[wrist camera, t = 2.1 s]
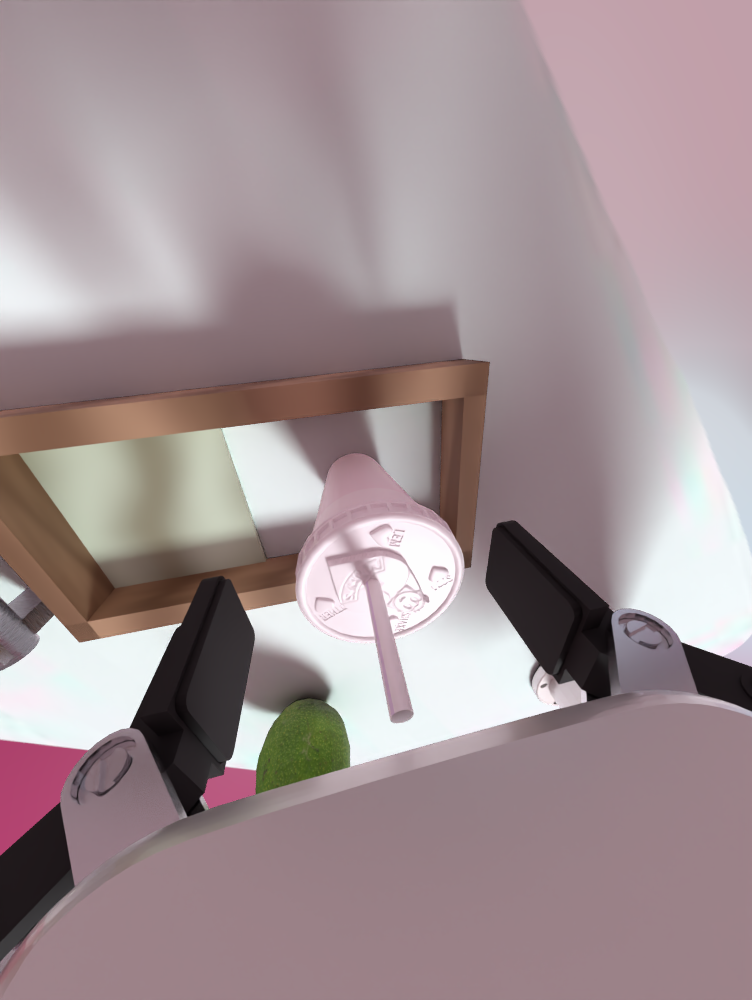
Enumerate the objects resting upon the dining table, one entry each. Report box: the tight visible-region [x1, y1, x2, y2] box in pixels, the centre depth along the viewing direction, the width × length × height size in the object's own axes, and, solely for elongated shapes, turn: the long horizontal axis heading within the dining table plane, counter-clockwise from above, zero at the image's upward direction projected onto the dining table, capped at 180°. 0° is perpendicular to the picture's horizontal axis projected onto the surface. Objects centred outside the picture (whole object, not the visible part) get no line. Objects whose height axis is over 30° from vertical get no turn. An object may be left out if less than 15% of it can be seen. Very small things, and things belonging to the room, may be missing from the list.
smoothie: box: [295, 453, 464, 723], centre depth 13 cm, size 6×6×14 cm
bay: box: [0, 359, 490, 643], centre depth 17 cm, size 25×13×3 cm, turn 95°
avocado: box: [256, 698, 350, 794], centre depth 25 cm, size 8×8×12 cm
